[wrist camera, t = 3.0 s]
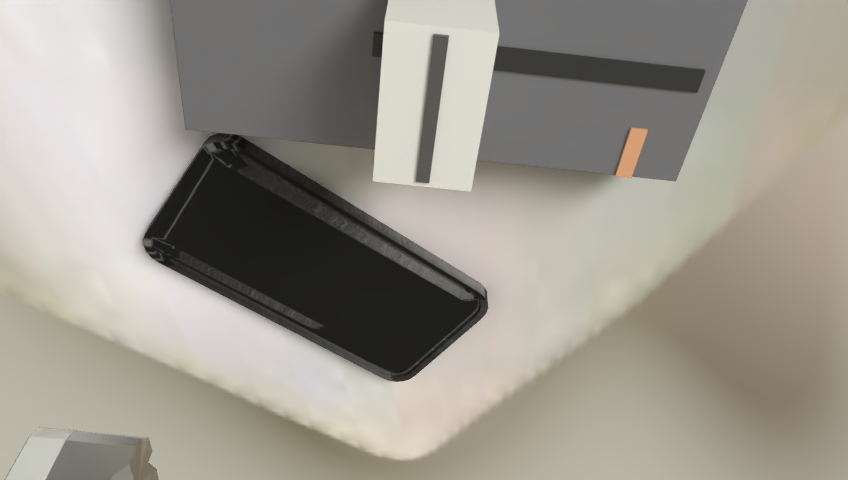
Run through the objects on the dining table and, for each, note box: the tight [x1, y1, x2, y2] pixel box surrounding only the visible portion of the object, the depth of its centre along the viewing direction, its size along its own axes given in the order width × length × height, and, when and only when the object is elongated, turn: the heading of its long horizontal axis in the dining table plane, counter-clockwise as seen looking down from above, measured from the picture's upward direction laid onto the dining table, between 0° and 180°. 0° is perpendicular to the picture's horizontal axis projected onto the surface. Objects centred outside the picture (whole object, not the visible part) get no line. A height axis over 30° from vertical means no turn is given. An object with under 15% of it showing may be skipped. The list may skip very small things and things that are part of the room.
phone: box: [143, 133, 488, 382], centre depth 33 cm, size 8×1×15 cm
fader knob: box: [373, 0, 500, 191], centre depth 21 cm, size 3×5×4 cm, turn 174°
